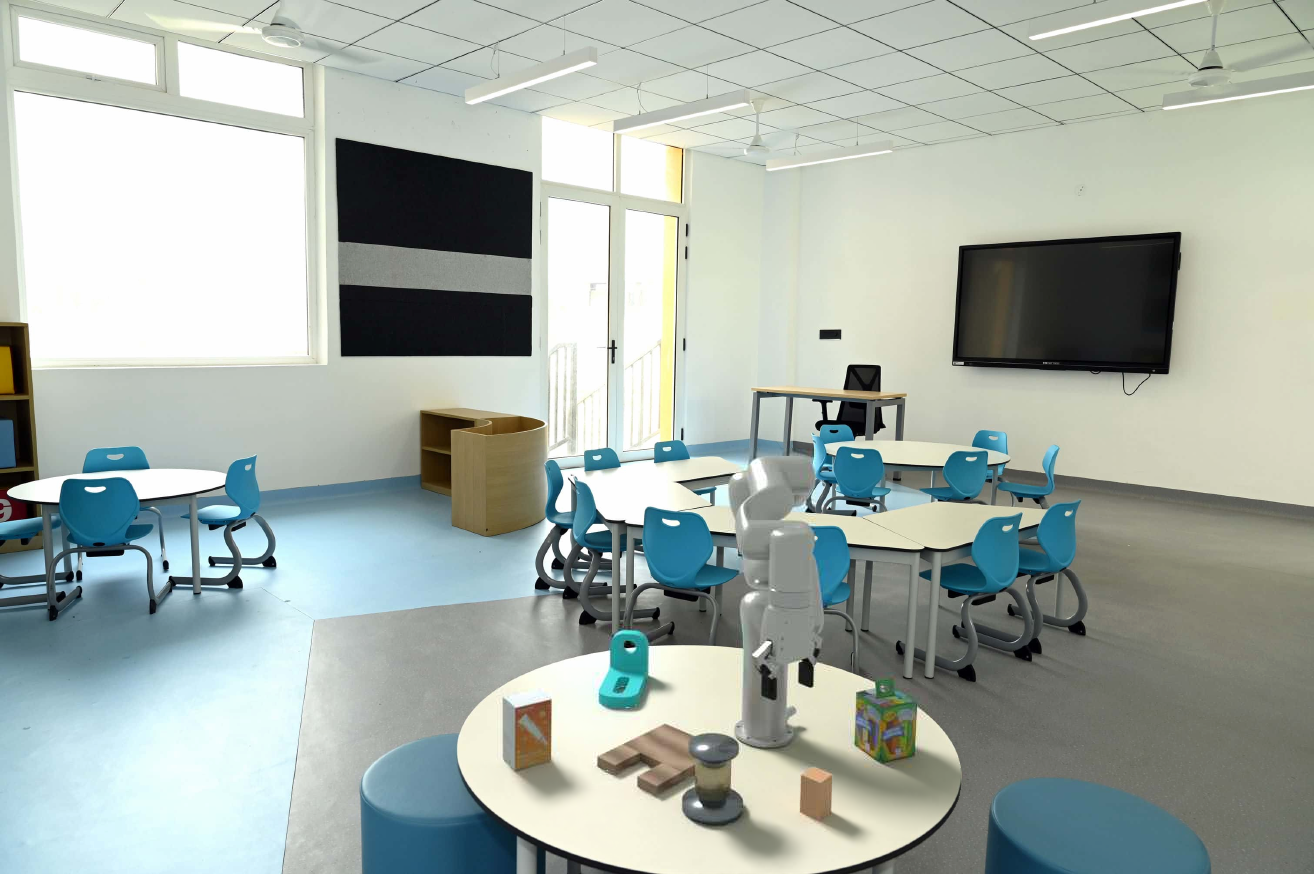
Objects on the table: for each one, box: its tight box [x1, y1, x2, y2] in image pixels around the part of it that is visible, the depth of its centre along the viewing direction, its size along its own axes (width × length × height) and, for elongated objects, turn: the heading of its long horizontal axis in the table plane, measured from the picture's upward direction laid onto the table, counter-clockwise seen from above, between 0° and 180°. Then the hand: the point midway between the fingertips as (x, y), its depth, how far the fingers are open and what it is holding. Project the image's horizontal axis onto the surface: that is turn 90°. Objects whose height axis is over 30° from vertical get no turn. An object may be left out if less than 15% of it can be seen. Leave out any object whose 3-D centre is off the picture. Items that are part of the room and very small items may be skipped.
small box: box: [502, 688, 553, 771], centre depth 163 cm, size 8×6×13 cm
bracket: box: [598, 629, 650, 709], centre depth 197 cm, size 20×9×12 cm, turn 172°
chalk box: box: [853, 677, 918, 763], centre depth 168 cm, size 9×9×15 cm
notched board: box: [596, 723, 696, 797], centre depth 163 cm, size 20×16×2 cm
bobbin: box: [681, 732, 744, 827], centre depth 146 cm, size 11×11×12 cm
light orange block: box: [799, 766, 833, 822], centre depth 146 cm, size 4×4×7 cm
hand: (787, 691), depth 146 cm, fingers open, 9 cm apart
